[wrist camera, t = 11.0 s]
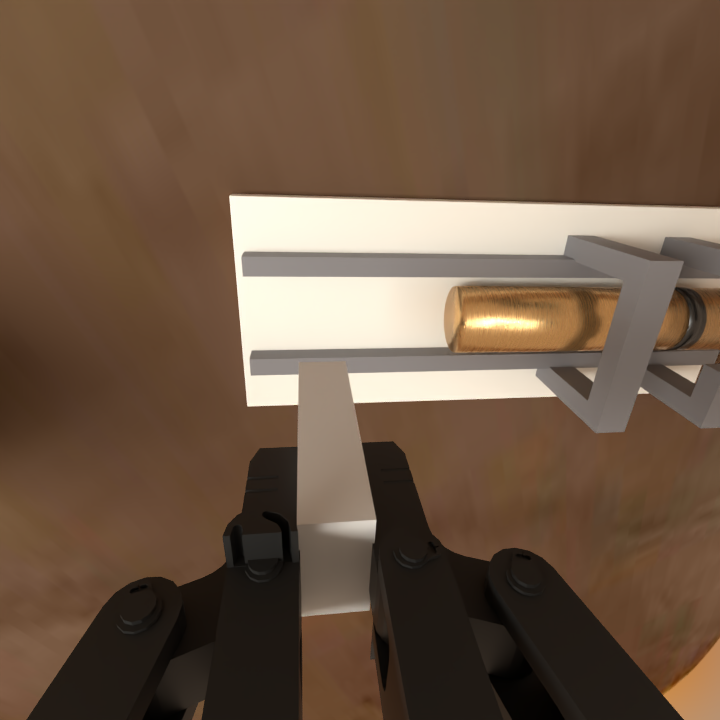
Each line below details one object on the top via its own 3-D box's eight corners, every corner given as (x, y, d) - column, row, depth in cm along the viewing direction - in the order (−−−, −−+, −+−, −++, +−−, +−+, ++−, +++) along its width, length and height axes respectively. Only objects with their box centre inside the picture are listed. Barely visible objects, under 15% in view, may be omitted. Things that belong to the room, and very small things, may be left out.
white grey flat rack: (249, 396, 28) (232, 476, 21) (232, 193, 22) (203, 211, 16) (677, 383, 31) (782, 448, 24) (746, 207, 26) (903, 227, 19)
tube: (440, 337, 26) (460, 364, 23) (448, 277, 25) (471, 297, 21) (681, 335, 28) (731, 360, 25) (702, 280, 27) (758, 298, 23)
